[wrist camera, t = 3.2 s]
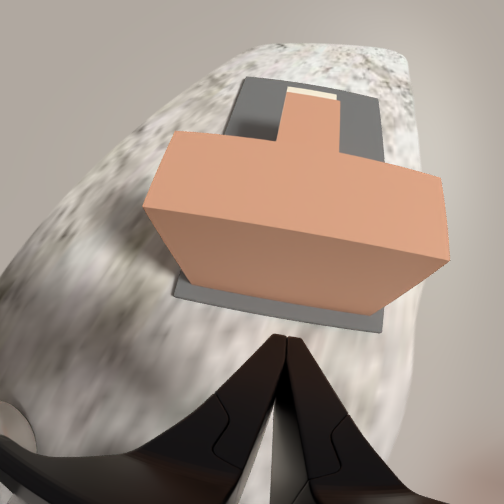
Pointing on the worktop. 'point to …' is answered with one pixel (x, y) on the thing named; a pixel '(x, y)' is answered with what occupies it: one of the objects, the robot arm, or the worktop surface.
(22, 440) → the plastic bottle
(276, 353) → the robot arm
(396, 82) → the worktop surface
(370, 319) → the mat
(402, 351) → the worktop surface
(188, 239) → the t block
